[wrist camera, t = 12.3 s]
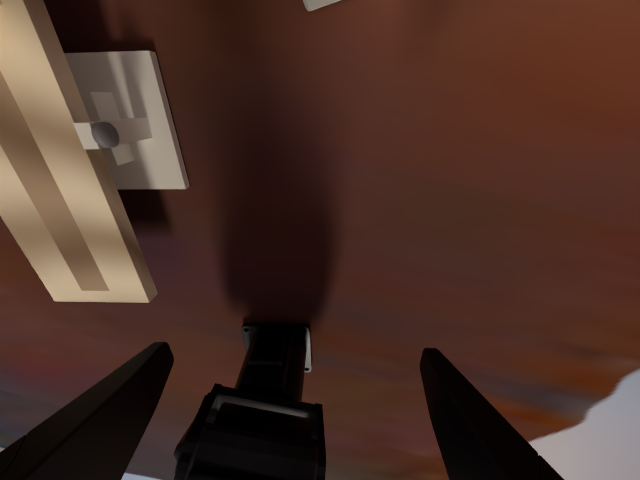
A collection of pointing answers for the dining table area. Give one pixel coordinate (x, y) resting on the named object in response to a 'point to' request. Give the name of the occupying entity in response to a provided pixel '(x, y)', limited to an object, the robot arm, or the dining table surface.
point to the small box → (317, 4)
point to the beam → (59, 172)
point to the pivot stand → (129, 118)
